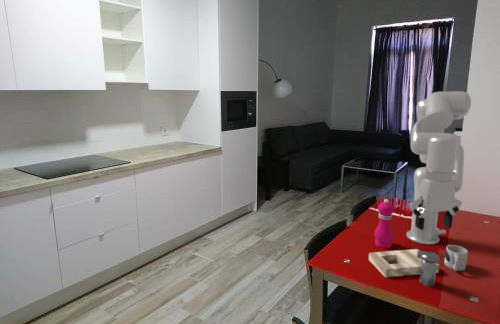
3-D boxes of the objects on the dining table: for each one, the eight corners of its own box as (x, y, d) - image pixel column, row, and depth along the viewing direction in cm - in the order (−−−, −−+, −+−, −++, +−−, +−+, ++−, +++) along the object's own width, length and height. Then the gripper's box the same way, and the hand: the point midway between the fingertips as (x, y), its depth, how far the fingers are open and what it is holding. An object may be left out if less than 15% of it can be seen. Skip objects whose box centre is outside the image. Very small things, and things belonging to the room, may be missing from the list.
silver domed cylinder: (428, 277, 112) (432, 250, 110) (439, 286, 107) (443, 258, 105) (414, 278, 111) (417, 251, 109) (424, 287, 106) (427, 259, 104)
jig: (417, 256, 127) (418, 244, 126) (438, 272, 115) (440, 259, 114) (368, 260, 124) (369, 247, 123) (385, 277, 112) (386, 264, 111)
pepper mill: (390, 250, 131) (394, 203, 127) (372, 246, 135) (375, 200, 131) (393, 243, 137) (397, 198, 133) (375, 239, 141) (378, 195, 137)
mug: (444, 259, 124) (446, 243, 122) (465, 264, 121) (467, 247, 119) (444, 272, 115) (446, 254, 114) (466, 277, 112) (469, 259, 111)
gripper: (455, 172, 106) (449, 221, 110) (405, 174, 104) (401, 224, 107) (473, 177, 99) (466, 230, 102) (421, 180, 97) (415, 233, 100)
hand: (433, 227), depth 105 cm, fingers open, 9 cm apart
